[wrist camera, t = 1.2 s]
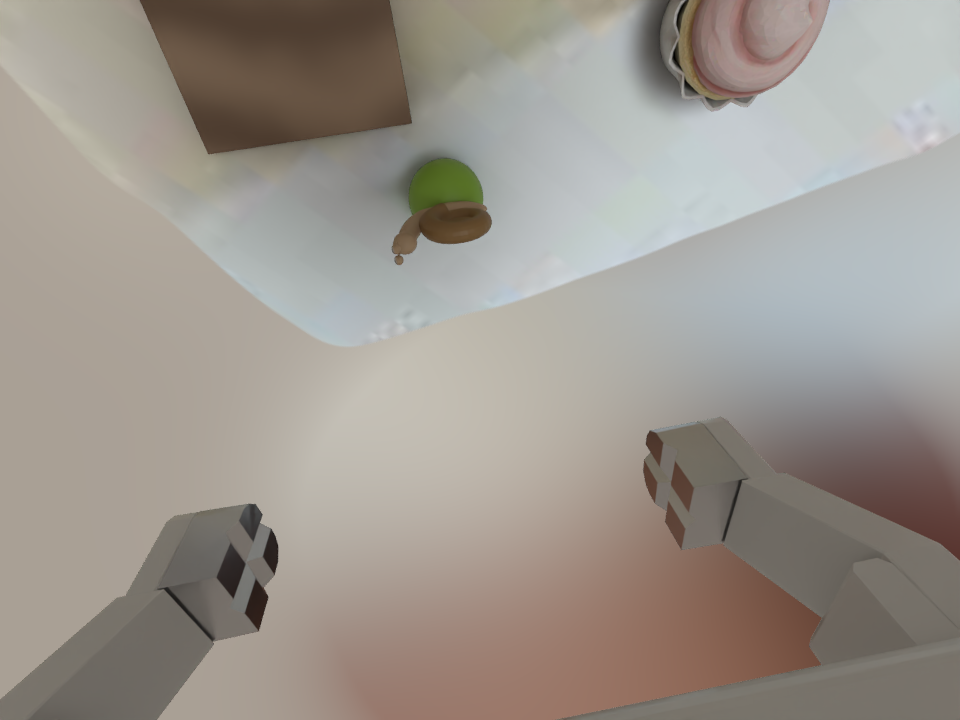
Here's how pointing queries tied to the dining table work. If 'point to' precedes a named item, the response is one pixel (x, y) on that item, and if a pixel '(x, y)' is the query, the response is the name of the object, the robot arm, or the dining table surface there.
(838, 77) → the dining table surface
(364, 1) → the walnut board
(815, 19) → the cupcake
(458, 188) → the snail figurine
